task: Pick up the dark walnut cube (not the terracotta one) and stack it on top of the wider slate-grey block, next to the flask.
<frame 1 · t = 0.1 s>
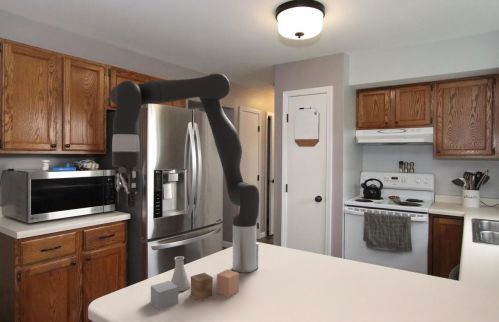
hand: (126, 205, 92), 29 cm above the counter, fingers open, 8 cm apart
terracotta cube: (228, 292, 100), on the counter
grey base block: (164, 302, 93), on the counter
flask: (179, 288, 103), on the counter
walnut cube: (201, 295, 97), on the counter
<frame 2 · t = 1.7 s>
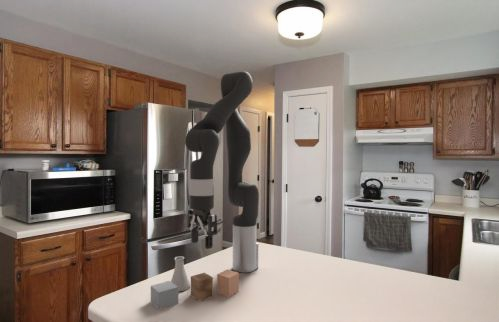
hand: (201, 245, 97), 16 cm above the counter, fingers open, 8 cm apart
nothing on the counter moved.
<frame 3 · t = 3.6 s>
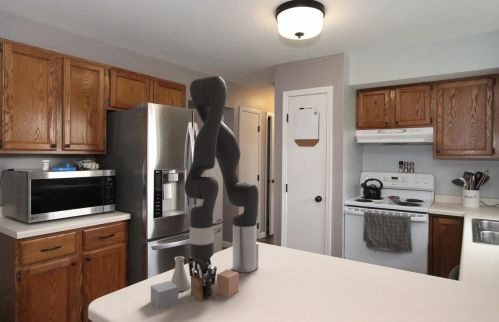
hand: (201, 294, 97), 0 cm above the counter, fingers closed on walnut cube, 5 cm apart
walnut cube: (201, 295, 97), on the counter, touching gripper
everything else where it was.
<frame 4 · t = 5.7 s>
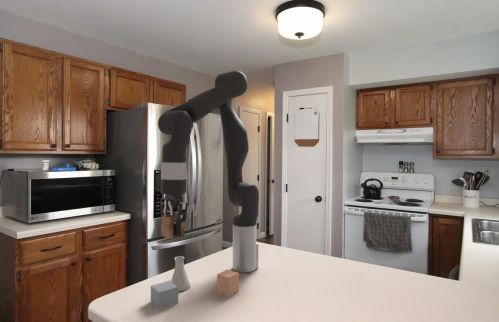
hand: (172, 234, 93), 20 cm above the counter, fingers closed on walnut cube, 5 cm apart
walnut cube: (172, 236, 93), point 20 cm above the counter, touching gripper
everything else where it was.
when the fingers open (7 cm above the counter, at t = 7.9 s): walnut cube drops 1 cm, resting on grey base block.
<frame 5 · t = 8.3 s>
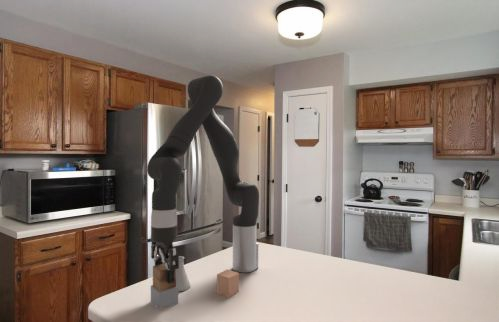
hand: (164, 278, 92), 7 cm above the counter, fingers open, 8 cm apart
grey base block: (164, 302, 93), on the counter, touching walnut cube
walnut cube: (164, 286, 92), point 5 cm above the counter, touching grey base block
everything else where it was.
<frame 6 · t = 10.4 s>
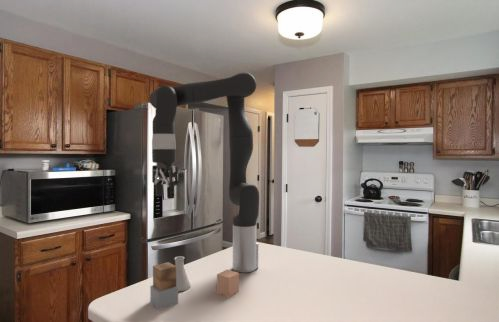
hand: (164, 197, 102), 30 cm above the counter, fingers open, 8 cm apart
nothing on the counter moved.
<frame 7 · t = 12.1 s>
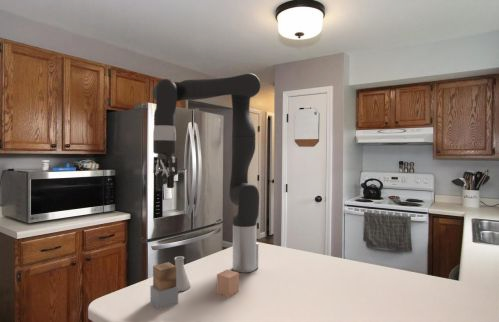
hand: (164, 187, 106), 33 cm above the counter, fingers open, 8 cm apart
nothing on the counter moved.
at the end: walnut cube 0.2 cm off-centre on the grey base block, point 5.0 cm above the grey base block's base; walnut cube tilted 0°; the gripper is holding nothing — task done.
